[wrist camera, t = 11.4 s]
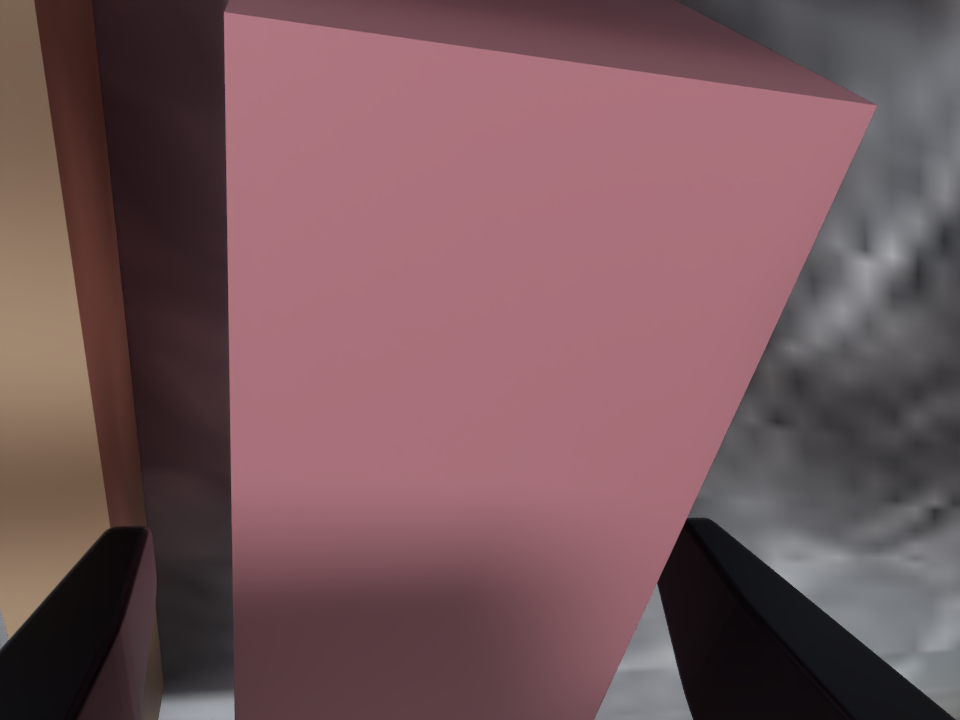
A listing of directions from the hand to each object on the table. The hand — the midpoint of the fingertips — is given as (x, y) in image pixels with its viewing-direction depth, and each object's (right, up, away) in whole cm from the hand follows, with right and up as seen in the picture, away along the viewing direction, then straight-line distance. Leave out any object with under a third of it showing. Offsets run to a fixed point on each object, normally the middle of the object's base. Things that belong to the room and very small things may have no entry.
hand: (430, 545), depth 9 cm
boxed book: (-1, +4, +5) cm, 7 cm away
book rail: (-7, +1, +6) cm, 9 cm away
